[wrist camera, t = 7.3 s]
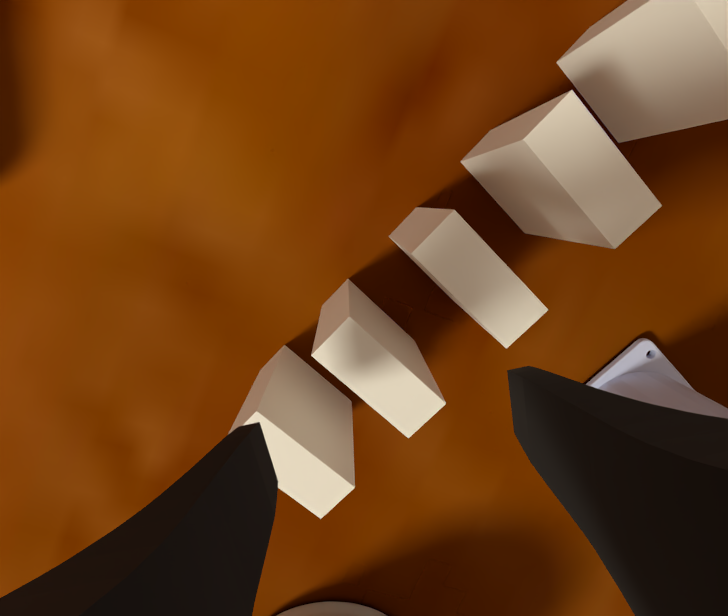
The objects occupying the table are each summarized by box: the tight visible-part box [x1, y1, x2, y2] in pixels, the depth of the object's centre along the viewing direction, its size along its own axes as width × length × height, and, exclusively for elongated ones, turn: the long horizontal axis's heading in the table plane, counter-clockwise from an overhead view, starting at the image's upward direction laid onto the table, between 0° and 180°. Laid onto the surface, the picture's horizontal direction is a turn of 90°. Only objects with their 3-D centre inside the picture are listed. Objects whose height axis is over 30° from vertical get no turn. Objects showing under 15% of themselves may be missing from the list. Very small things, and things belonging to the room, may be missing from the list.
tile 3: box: [389, 207, 548, 348], centre depth 17 cm, size 5×2×7 cm, turn 46°
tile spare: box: [556, 0, 728, 143], centre depth 15 cm, size 5×2×7 cm, turn 46°
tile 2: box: [311, 279, 446, 438], centre depth 18 cm, size 5×2×7 cm, turn 46°
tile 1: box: [229, 345, 355, 519], centre depth 18 cm, size 5×2×7 cm, turn 46°
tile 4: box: [460, 90, 662, 249], centre depth 16 cm, size 5×2×7 cm, turn 46°
